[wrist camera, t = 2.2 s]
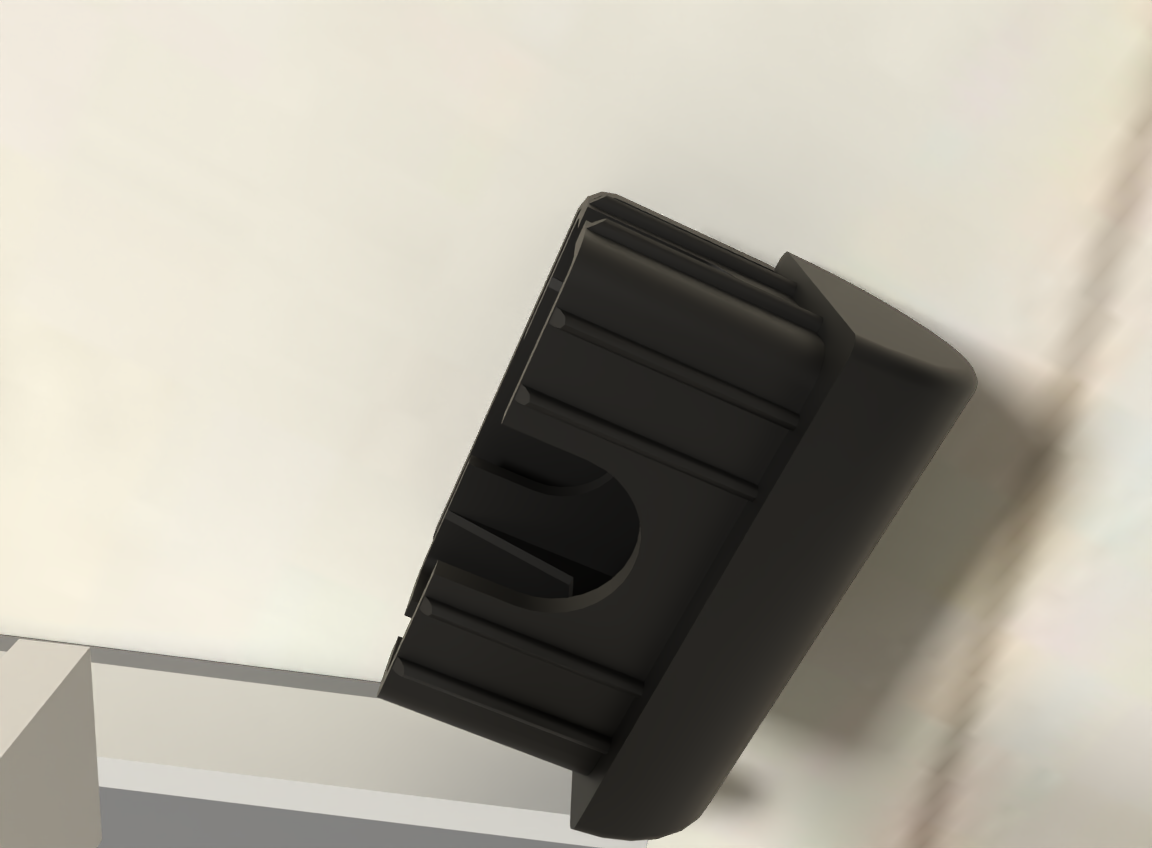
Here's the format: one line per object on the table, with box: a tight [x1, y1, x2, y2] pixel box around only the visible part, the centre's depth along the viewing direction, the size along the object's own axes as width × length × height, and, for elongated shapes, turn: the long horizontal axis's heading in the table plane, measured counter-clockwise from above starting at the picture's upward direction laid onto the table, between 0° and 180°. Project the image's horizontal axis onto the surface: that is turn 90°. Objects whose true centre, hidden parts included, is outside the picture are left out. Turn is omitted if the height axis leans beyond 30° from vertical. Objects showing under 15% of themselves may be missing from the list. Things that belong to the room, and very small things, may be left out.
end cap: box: [377, 192, 977, 841], centre depth 19 cm, size 10×7×7 cm
